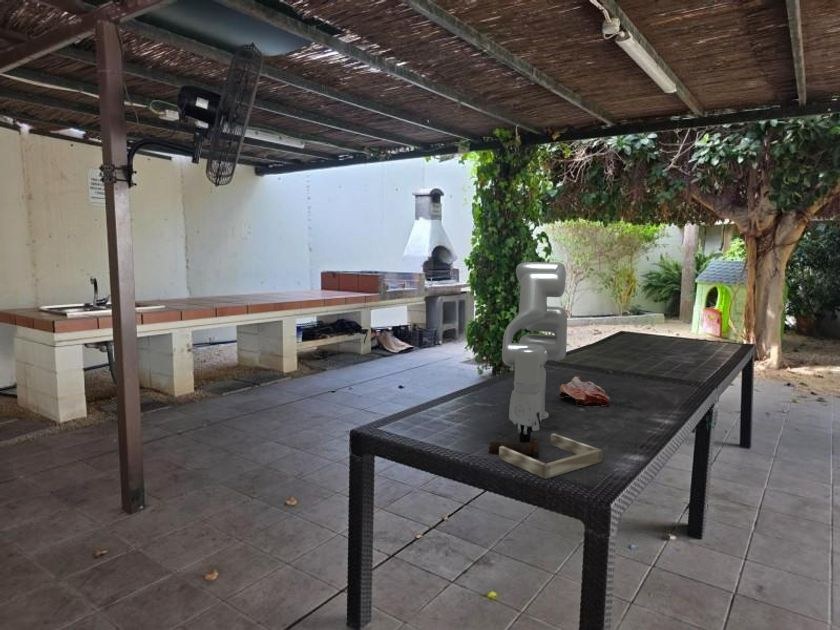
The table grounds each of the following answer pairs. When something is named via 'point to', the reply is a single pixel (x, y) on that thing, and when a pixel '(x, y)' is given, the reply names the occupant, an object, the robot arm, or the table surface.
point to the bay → (582, 459)
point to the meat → (584, 393)
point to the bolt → (517, 446)
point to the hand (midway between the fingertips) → (524, 445)
